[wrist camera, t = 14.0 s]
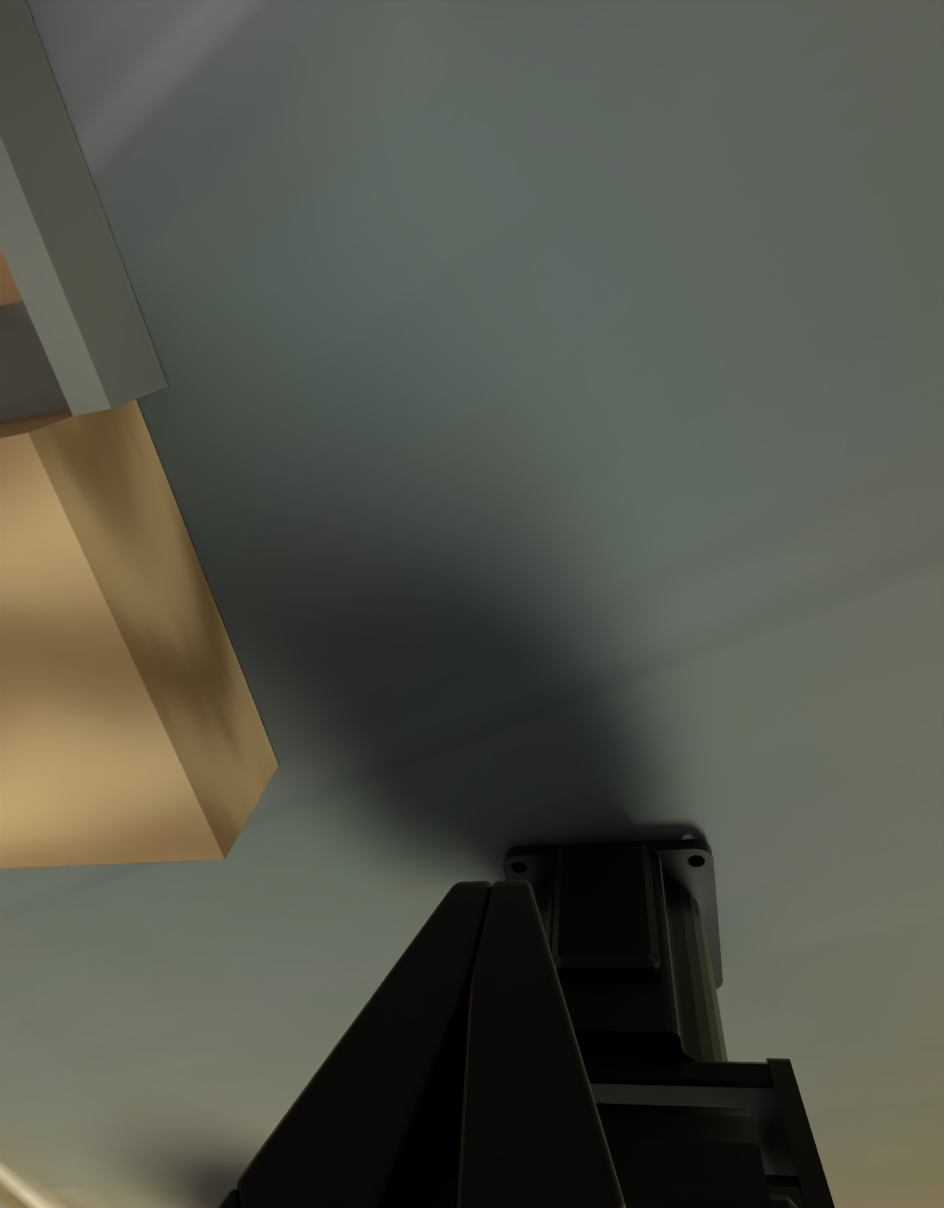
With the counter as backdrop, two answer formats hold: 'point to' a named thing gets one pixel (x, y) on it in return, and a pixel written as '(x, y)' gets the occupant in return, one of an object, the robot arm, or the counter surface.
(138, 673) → the wooden flat block
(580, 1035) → the robot arm
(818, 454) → the counter surface
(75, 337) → the box
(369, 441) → the counter surface
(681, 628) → the counter surface
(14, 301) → the terracotta tile
